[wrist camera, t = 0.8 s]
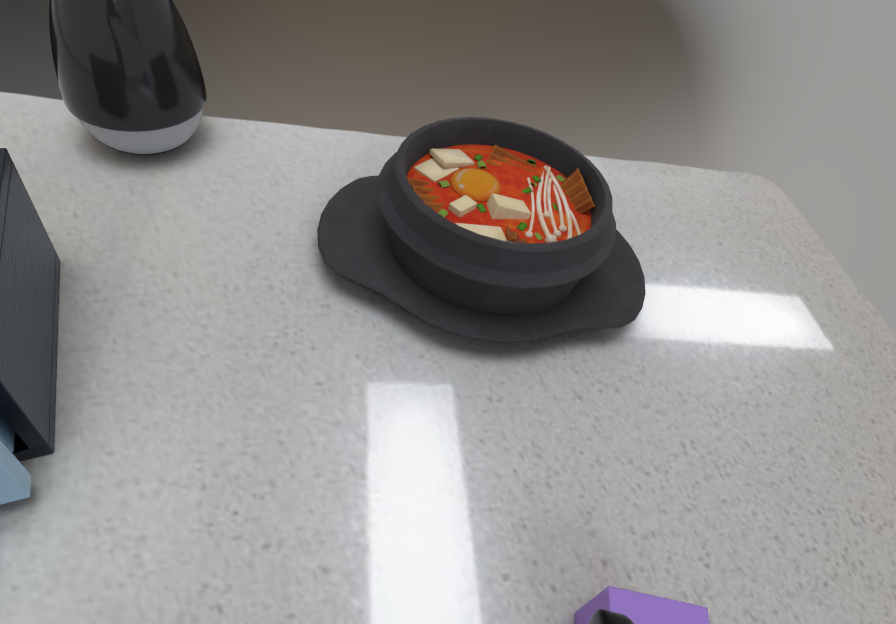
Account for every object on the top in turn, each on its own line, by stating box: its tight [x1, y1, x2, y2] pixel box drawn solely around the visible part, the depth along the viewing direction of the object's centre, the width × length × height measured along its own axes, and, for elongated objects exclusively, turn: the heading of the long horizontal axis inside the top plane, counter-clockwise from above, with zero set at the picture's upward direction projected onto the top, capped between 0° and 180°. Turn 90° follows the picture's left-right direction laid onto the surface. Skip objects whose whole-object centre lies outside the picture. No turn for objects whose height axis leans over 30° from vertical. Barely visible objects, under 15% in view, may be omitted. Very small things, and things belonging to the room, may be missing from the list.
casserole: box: [317, 117, 645, 343], centre depth 41 cm, size 25×19×8 cm
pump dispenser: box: [49, 0, 206, 154], centre depth 42 cm, size 10×10×15 cm
